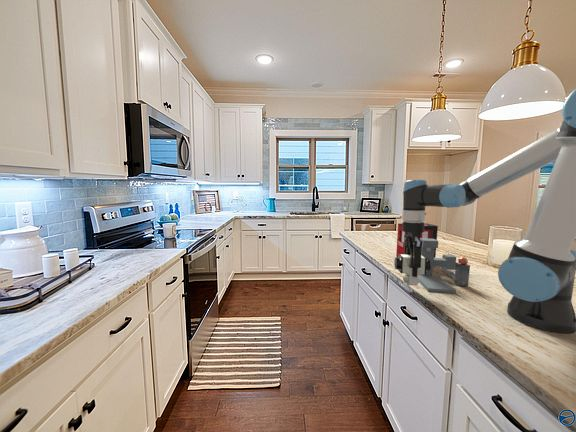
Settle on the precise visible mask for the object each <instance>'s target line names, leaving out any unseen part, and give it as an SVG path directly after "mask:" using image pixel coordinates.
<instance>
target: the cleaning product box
mask: <svg viewBox="0 0 576 432" xmlns="http://www.w3.org/2000/svg"><path fill="white" fill-rule="evenodd" d="M424 223H425V222H424ZM438 229H439V226H438V225H437V224H436V225H435V224H431V223H425V227H424V232H423V233H419V238H428V239H435V240H437V241H438ZM404 235H407V232H403V231H402V223H397V236H396V237H397V239H396V240H397V241H396V255H395V256H396V257H395V258H398V254H404ZM436 255H437V248H435V251H434V258H436Z"/></svg>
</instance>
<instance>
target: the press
mask: <svg viewBox="0 0 576 432" xmlns="http://www.w3.org/2000/svg"><path fill="white" fill-rule="evenodd" d="M420 241H422V249H421V255H423V256H425V257H426V258H427V259H429V260H430V263H431V268H430V271H427V272H426V275H423V274H418V277H419V279H420V282H419V284H420V285H421V286H422V287H423V288H424V289H425V290H426V291H427V292H434V293H448V294H449V293H450V294H457V289H456V288H454V286H452V285H451V284H450V283H448V282H447V281H446V280H445V279H444V278H442V277H441V276H439V275H438V276H437V275H433V273H434V268H435V267H437V268H441V267H443V268H445V269H448V270H450V271H452V270H453V271H455V267H456V263H457V256H455V255H454V254H445V253H444V254H442V256H441V257H435V258H434V251H435V248H436V249H439V240H438V239H437V240H435V239H428V238H420Z"/></svg>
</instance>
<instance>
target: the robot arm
mask: <svg viewBox="0 0 576 432" xmlns="http://www.w3.org/2000/svg"><path fill="white" fill-rule="evenodd" d="M561 115H562V119H563V120H562V121H561V122H560V123H559V126H558V127H557V128H556V129H555V130H553V131H552V132H550V133H548V134H545V135H543V136H542V137H541V138H539V139H536V140H534V141H533V142H531V143H530V144H528V145H526V146H524V147H522V148H521V149H519V150H517V151H516V152H514V153H512V154H510V155H508V156H506V157H504V158H503V159H501V160H499V161H497V162H495V163H494V164H492V165H490V166H489V167H486V168H485V169H484V170H483V169H482V171H479V172H478V173H476V174H474V175H472V176H470V177H469V178H467V179H466V180H463V181H462V182H460V183H458V184H454V183H449V184H427V180H426V179H408V180H405V181H404V183H403V191H402V196H403V201H402V203H403V204H402V223H401V224H402V231H403V232H407V235H404V254H405V255H411V266H409V268H410V276H409V284H410V285H409V286H415V285H417V286H418V285H419V283H418V268H421V249H422V241H420V238H419V233H423V232H424V227H425V222H424V221H425V219H426V216H427V213H426V207H436V208H437V207H438V208H439V207H440V208H460V207H462V206H463V207H464V206H467V205H471V204H474V203H475V201H476V200H478V199H479V198H481V197H483V196H485V195H488V194H490V193H491V192H494V191H495V190H496V191H497V189H500V188H502V187H504V186H507V185H508V184H510V183H513V182H514V181H517V180H520V179H521V178H523V177H525V176H527V175H529V174H531V173H533V172H535V171H538V170H539V169H541V168H544V167H546V166H548V165H550V164H552V163H554V165H553V167H552V170H551V172H550V174H549V177H548V179H547V182H546V184H545V186H544V189H543V192H542V194H541V196H540V198H539V201H538V203H537V206H536V208H535V211H534V214H533V215H532V217H531V218H532V219H531V220H530V223H529V226H528V228H527V229H526V233H525V235H524V237H523V238H521V239H519V240H518V239H517V240H516V241H514V243H513V245H512V247H511V250H510V253H509V255H508V257H507V259H504V261H502V263H501V264H500V266H499V268H498V272H497V277H498V281H499V283H500V284H501V286H502V287H503V288H504V289H505V291H507V292H508V293H509V294H510V295H511V296H512V297H511V299H510V301H509V302H508V304H507V307H506V311H507V314H508V315H509V316H510V317H511V318H512V319H514V320H516V321H519V322H521V323H523V324H525V325H527V326H531V327H534V328H536V329H539V330H544V331H548V332H551V333H552V332H553V333H560V334H572V333H576V313H575V308H574V306H573V302H572V299H573V291H574V285H575V277H576V249H572V246H573V243H574V242H575V239H576V88H575V89H573V90H572V92H570V94H569V95H568V96H567V97H566V99H565V101H564V103H563V106H562V111H561Z"/></svg>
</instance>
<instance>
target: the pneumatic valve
mask: <svg viewBox="0 0 576 432" xmlns="http://www.w3.org/2000/svg"><path fill="white" fill-rule="evenodd" d="M393 264H394V269H395V270H398V272H399V273H400V274H404V276H403V278H402V281H403V283H405V284H406V285H407V286H411V285H410V284H409V276H410V268H409V266H411V255H405V254H398V258H396V257H394V263H393ZM430 268H431V263H430V260H429V259H427V258H426V257H425V256H423V255H421V268H418V274H423V275H426V272H427V271H430ZM418 284H420V279H419V277H418ZM414 286H418V285H414Z"/></svg>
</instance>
